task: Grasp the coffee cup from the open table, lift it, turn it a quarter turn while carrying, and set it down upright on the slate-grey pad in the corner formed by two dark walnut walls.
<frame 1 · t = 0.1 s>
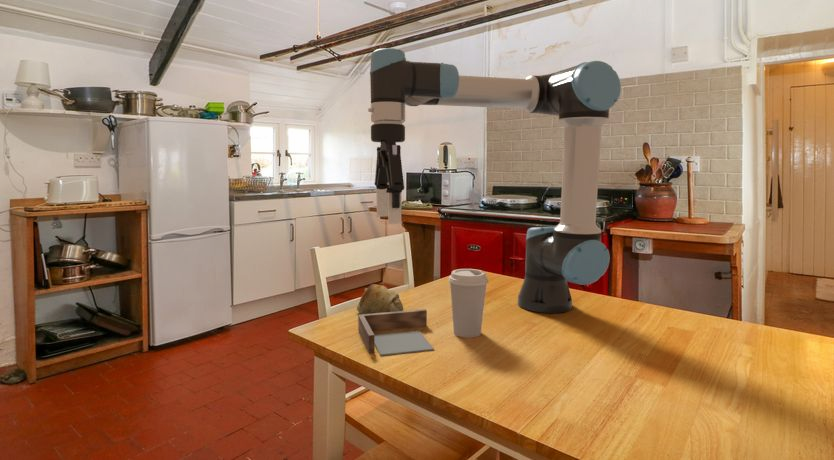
hand: (388, 219, 107), 28 cm above the table, fingers open, 13 cm apart
pastry: (380, 313, 131), on the table
coffee cup: (467, 333, 115), on the table
walnut corner walls: (361, 331, 116), on the table
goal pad: (401, 342, 108), on the table
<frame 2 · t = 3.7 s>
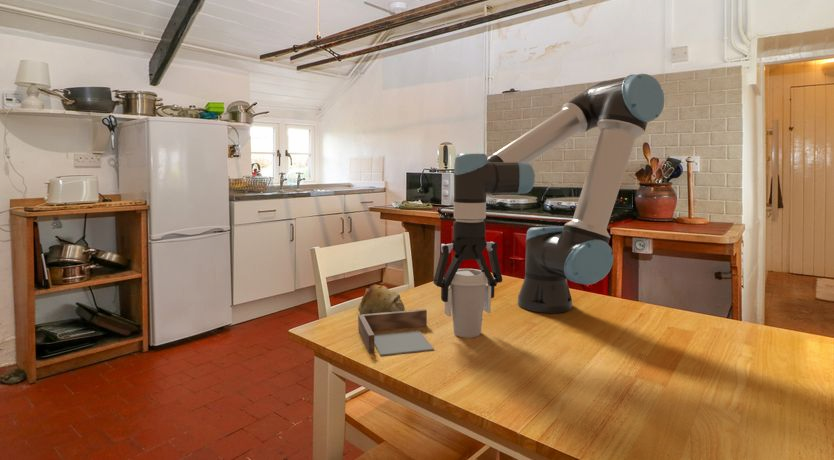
hand: (467, 312, 114), 5 cm above the table, fingers closed on coffee cup, 9 cm apart
coffee cup: (467, 333, 115), on the table, touching gripper
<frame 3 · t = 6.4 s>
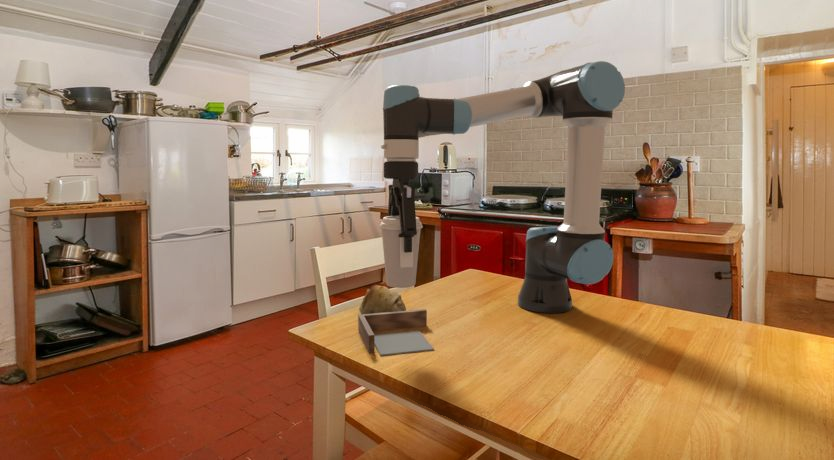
hand: (400, 262, 106), 19 cm above the table, fingers closed on coffee cup, 9 cm apart
coffee cup: (400, 284, 106), point 14 cm above the table, touching gripper
when the fingers open (6 cm above the table, at t = 9.4 s): coffee cup drops 1 cm, resting on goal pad.
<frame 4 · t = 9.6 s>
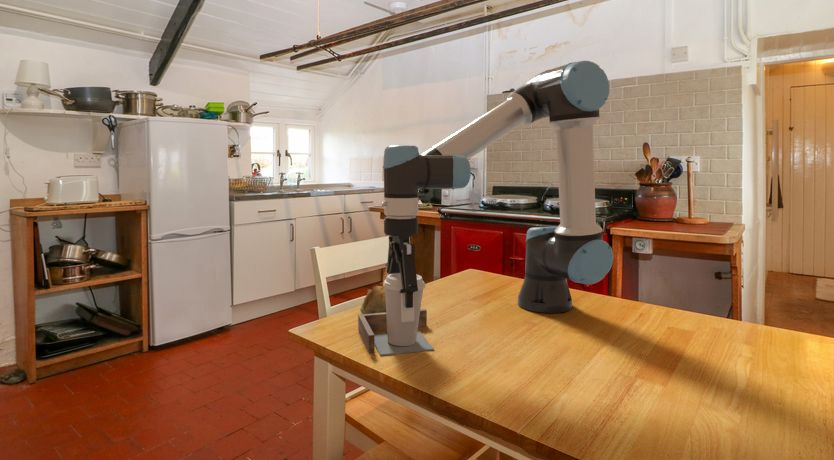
hand: (401, 312, 107), 7 cm above the table, fingers open, 11 cm apart
coffee cup: (401, 341, 108), resting on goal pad
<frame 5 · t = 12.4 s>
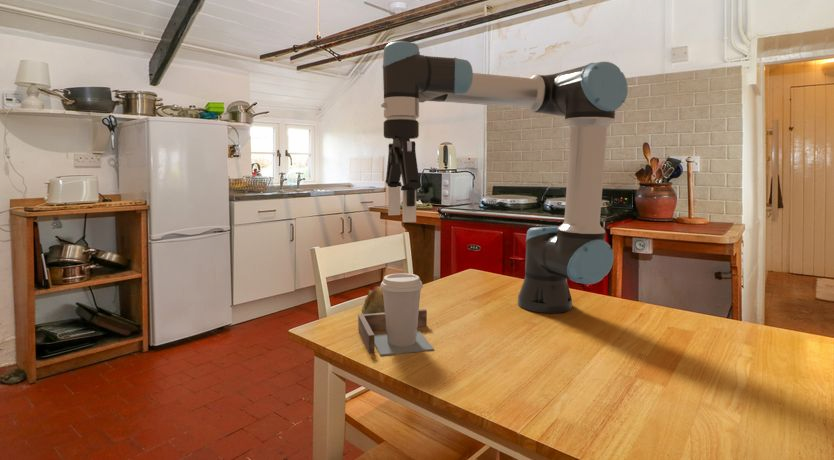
hand: (401, 218, 104), 29 cm above the table, fingers open, 13 cm apart
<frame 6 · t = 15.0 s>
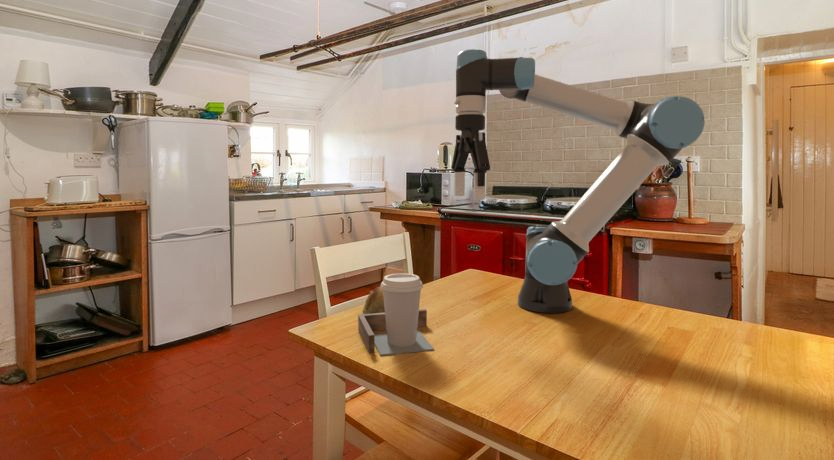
hand: (468, 197, 124), 32 cm above the table, fingers open, 13 cm apart
at the end: coffee cup inside the target area (0.2 cm from its centre), resting on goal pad; coffee cup tilted 0°; the gripper is holding nothing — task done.
